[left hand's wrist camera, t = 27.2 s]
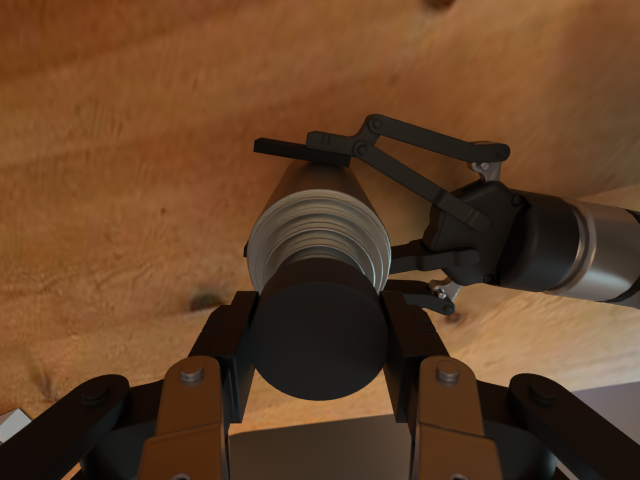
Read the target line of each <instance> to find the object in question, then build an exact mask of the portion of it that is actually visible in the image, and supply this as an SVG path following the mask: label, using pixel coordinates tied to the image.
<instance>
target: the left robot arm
mask: <svg viewBox="0 0 640 480" xmlns="http://www.w3.org/2000/svg"><path fill="white" fill-rule="evenodd" d="M259 297H260V295H259V291H237V292H236V294H235V297H234V299H233V301H232V303H231V305H221V306H220V307H218V308H217V309H216V310H214V311H213V312H212V313H211V314H210V316H209V318H208V320H207V322H206V324H205V325H204V327H203V329H202V332H201V333H200V335H199V337H198V338H197V340H196V342H195V344H194V346H193V348H192V350H191V351H190V353H189V355H188V357H187V358H185V359H183V360H180V361H179V362H177V363H175V364H174V365H173V366H172V367H171V368H169V370H168V371H167V372H166V374H165V377H164V379H162V380H159V381H156V382H153V383H149V384H144V385H140V386H136V387H131V388H130V386H129V382H128V380H127V379H126V378H125V377H124V376H121V375H117V374H109V375H102V376H99V377H95V378H93V379H90V380H88V381H86V382H84V383H82V384H80V385H79V386H77V387H76V388H75V389H73V390H72V391H71V392H69V393H68V394H67V395H66V396H64V397H63V398H62V399H60V400H59V401H58V402H56V403H55V404H54V405H52V406H51V407H50V408H49V409H47V410H46V411H45V412H43V413H42V414H41V415H39V416H38V417H37V418H35V419H34V420H33V421H32V422H30V423H29V424H28V425H26V426H25V427H24V428H22V429H21V430H20V431H18V432H17V433H16V434H14V435H13V436H12V437H11V438H9V439H8V440H7V441H5V442H4V443H3V444H1V445H0V480H61V479H62V478H63V477H64V476H65V475H66V474H67V473H68V472H69V471H70V470H71V469H72V468H73V467H74V466H75V465H76V464H77V463H78V462H79V463H80V466H81V469H80V470H79V471H78V472H77V473H76V474H75V475H74V476H73V477H72V478H71V479H70V480H231V463H230V445H229V436H228V429H229V426H230V423H242V419H243V415H244V411H245V407H246V404H247V400H248V396H249V392H250V388H251V384H252V380H253V376H254V372H255V366H254V364H253V362H252V355H251V343H250V324H251V322H252V318H253V315H254V312H255V309H256V306H257V303H258V300H259ZM379 299H380V303H381V306H382V309H383V312H384V315H385V318H386V321H387V325H388V329H389V331H388V344H387V357H386V362H385V364H384V366H383V371H384V375H385V379H386V383H387V387H388V391H389V395H390V399H391V404H392V408H393V412H394V416H395V420H396V423H408V427H409V431H410V434H411V445H410V463H409V480H570V479H569V478H568V477H567V476H566V475H565V474H564V473H563V472H562V471H561V470H560V469H559V468H558V467H557V466H556V465H557V462H558V459H559V460H560V461H561V462H562V463H563V464H564V465H565V466H566V467H567V468H568V469H569V470H570V471H571V472H572V473H573V474H574V475H575V476H576V477H577V478H578V479H579V480H640V445H639V444H637V443H636V442H635V441H633V440H632V439H631V438H629V437H628V436H627V435H625V434H624V433H623V432H622V431H620V430H619V429H618V428H616V427H615V426H614V425H612V424H611V423H610V422H608V421H607V420H606V419H604V418H603V417H602V416H601V415H599V414H598V413H597V412H595V411H594V410H593V409H591V408H590V407H589V406H588V405H586V404H585V403H584V402H582V401H581V400H580V399H578V398H577V397H576V396H574V395H573V394H572V393H571V392H569V391H568V390H567V389H565V388H564V387H563V386H561V385H560V384H558V383H556V382H555V381H553V380H551V379H549V378H546V377H543V376H540V375H536V374H530V373H522V374H518V375H515V376H514V377H512V379H511V380H510V384H509V388H508V387H504V386H499V385H495V384H491V383H486V382H483V381H479V380H477V379H476V377H475V374H474V372H473V371H472V370H471V368H469V367H468V366H467V365H466V364H465V363H463V362H461V361H460V360H457V359H455V358H452V357H450V355H449V354H448V352H447V350H446V348H445V346H444V344H443V342H442V340H441V338H440V337H439V335H438V333H437V332H436V329H435V327H434V325H433V324H432V322H431V320H430V318H429V316H428V314H427V312H425V311H424V310H423V309H421V308H420V307H419V306H418V305H407V303H406V300H405V298H404V296H403V294H402V292H401V291H380V292H379Z"/></svg>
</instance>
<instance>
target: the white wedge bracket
mask: <svg viewBox="0 0 640 480" xmlns="http://www.w3.org/2000/svg"><path fill="white" fill-rule="evenodd" d="M30 422H32V421H31V420H30V419H29V418H28V417H27V416H26V415H25V414H24V413H23V412H22V411H21V410H20V409H19V408H17V409H15V410H13V411H10V412H8V413H6V414H4V415H1V416H0V445H1V444H3V443H4V442H5V441H7V440H8V439H9V438H11V437H12V436H13V435H14V434H16V433H17V432H18V431H20V430H21V429H22V428H24V427H25V426H26V425H28V424H29V423H30Z"/></svg>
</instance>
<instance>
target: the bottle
mask: <svg viewBox="0 0 640 480" xmlns="http://www.w3.org/2000/svg"><path fill="white" fill-rule="evenodd" d="M312 257H324V258H333V259H336V260H340V261H343V262H345V263H348V264H350V265H352V266H354V267H355V268H357V269H358V270H360V271H361V272H362V273H363V274H364V275H365V276H366V277H367V278H368V279H369V280H370V281H371V283H372V284H373V286H374V287H375V289H376V291H377V294H378V296H379V292H380V291H382V290H383V288H384V286H385V284H386V281H387V278H388V274H389V269H390V263H391V246H390V241H389V237H388V234H387V231H386V229H385V227H384V225H383V223H382V221H381V220H380V218H379V216H378V214H377V213H376V211H375V209H374V208H373V206H372V204H371V202H370V201H369V199H368V197H367V196H366V194H365V192H364V190H363V189H362V187H361V185H360V184H359V182H358V180H357V178H356V177H355V175H354V173H353V172H352V170H351V169H350V167H349V168H346V167H340V166H334V165H329V164H323V163H317V162H311V161H305V160H299V159H297V160H295V161H294V162H293V163H292V164H291V165H290V166H289V167H288V169H287V170H286V172H285V173H284V175H283V177H282V179H281V180H280V182H279V184H278V185H277V187H276V189H275V191H274V192H273V194H272V196H271V197H270V199H269V201H268V203H267V204H266V206H265V208H264V209H263V211H262V213H261V215H260V216H259V218H258V220H257V221H256V223H255V225H254V227H253V229H252V231H251V234H250V237H249V241H248V246H247V264H248V269H249V274H250V278H251V281H252V284H253V286H254V288H255V290H256V291H259V295H261V292H262V290H263V288H264V286H265V284H266V283H267V282H268V280H269V279H270V278H271V277H272V276H273V275H274V274H275V273H276V272H277V271H279V270H280V269H281V268H283V267H285V266H286V265H288V264H290V263H293V262H295V261H298V260H302V259H306V258H312Z"/></svg>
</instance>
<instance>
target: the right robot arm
mask: <svg viewBox="0 0 640 480" xmlns="http://www.w3.org/2000/svg"><path fill="white" fill-rule="evenodd" d="M380 135H382V136H385V137H389V138H392V139H395V140H398V141H401V142H405V143H408V144H411V145H414V146H417V147H421V148H424V149H427V150H430V151H433V152H437V153H440V154H443V155H446V156H449V157H453V158H456V159H459V160H462V161H466V162H467V167H468V168H469V169H470V170H472V171H474V172H477V173H478V174H479V175H480V179H479V180H477V181H475V182H472V183H470V184H468V185H466V186H464V187H462V188H459V189H457V190H455V191H453V192H451V193H449V192H447V191H446V190H444V189H443V188H441V187H439V186H438V185H436V184H435V183H433V182H431V181H430V180H428V179H426V178H425V177H423V176H422V175H420V174H418V173H417V172H415V171H413V170H412V169H410V168H409V167H407V166H405V165H404V164H402V163H400V162H399V161H397V160H396V159H394V158H392V157H391V156H389V155H388V154H386V153H384V152H383V151H381V150H379V149H378V148H376V147H375V146H374V144H375V142H376V141H377V139H378V137H379V136H380ZM254 152H258V153H264V154H270V155H276V156H281V157H287V158H293V159H299V160H305V161H311V162H317V163H323V164H329V165H334V166H340V167H346V168H349V164H350V159H351V157H357V158H358V159H360V160H362V161H363V162H365V163H367V164H368V165H370V166H372V167H373V168H375V169H377V170H378V171H380V172H382V173H383V174H385V175H387V176H388V177H390V178H391V179H393V180H395V181H396V182H398V183H400V184H401V185H403V186H405V187H406V188H408V189H410V190H411V191H413V192H415V193H416V194H418V195H420V196H421V197H423V198H425V199H426V200H428V201H429V202H431V203H433V204H432V207H431V210H430V223H429V225H428V226H427V228H426V230H425V232H424V235H423V238H422V239H418V240H413V241H410V242H409V243H408V244H404V245H399V246H393V247H391V263H390V269H389V274H395V273H400V272H406V271H412V270H420V271H430V270H435V269H442V271H443V272H444V273H445V274H446V275H447V276H448V277H447V278H446V279H444V280H441V281H440V280H431V281H430V282H429V283H426V282H422V281H415V280H390V279H387V281H386V284H385V286H384V288H383V290H382V291H401V292H402V294H403V296H404V298H405V300H406V303H407V305H418V306H419V307H420V308H427V309H430V310H432V311H435V312H438V313H440V314H443V315H451V314H453V313H454V311H455V305H454V304H453V302H452V301H453V300H454V298H455V296H456V295H457V293H458V292H459V290H460V288H461V287H462V286H469V285H472V284H476V283H485V284H489V285H493V286H498V287H505V288H511V289H518V290H524V291H531V292H542V293H545V294H549V295H556V296H563V297H570V298H577V299H584V300H591V301H596V302H605V303H611V304H617V305H622V306H628V307H634V308H637V309H640V212H638V211H631V210H628V209H623V208H617V207H611V206H605V205H599V204H594V203H588V202H583V201H577V200H572V199H561V198H559V197H555V196H550V195H544V194H538V193H532V192H526V191H521V190H515V189H509V188H508V187H506V186H505V185H504V184H503V183H502V182H500V181H499V178H500V169H501V162H502V161H505V160H506V159H507V158H508V157H509V155H510V148H509V146H508V145H506V144H502V143H497V142H491V141H476V142H465V141H462V140H459V139H456V138H453V137H449V136H446V135H443V134H440V133H437V132H434V131H431V130H427V129H424V128H421V127H418V126H415V125H412V124H409V123H405V122H402V121H399V120H396V119H393V118H390V117H387V116H384V115H380V114H370V115H368V116H367V117H366V118H365V121H364V123H363V125H362V127H361V128H360V130H359V132H358V133H357V134H356V135H354V136H343V135H337V134H331V133H326V132H320V131H312V132H308V134H307V140H306V145H303V144H297V143H291V142H285V141H279V140H273V139H268V138H262V137H261V138H259V139H256V140H255V141H254ZM248 241H249V240H248ZM247 246H248V242H247V244H246V245H245V247H244V255H243V257H247ZM389 274H388V275H389Z"/></svg>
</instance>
